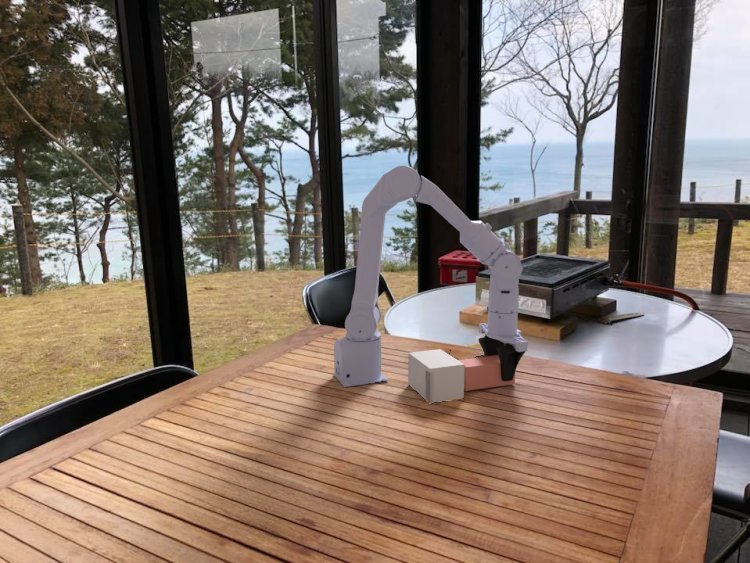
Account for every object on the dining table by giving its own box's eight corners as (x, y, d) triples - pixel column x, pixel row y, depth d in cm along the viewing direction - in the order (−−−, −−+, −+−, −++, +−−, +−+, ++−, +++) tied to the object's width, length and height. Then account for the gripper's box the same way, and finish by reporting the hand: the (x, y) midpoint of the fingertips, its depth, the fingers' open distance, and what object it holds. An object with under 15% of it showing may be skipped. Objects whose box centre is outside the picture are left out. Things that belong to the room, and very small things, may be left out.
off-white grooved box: (429, 404, 101) (430, 368, 100) (408, 385, 110) (408, 352, 109) (463, 399, 103) (464, 364, 102) (439, 381, 113) (440, 349, 111)
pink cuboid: (465, 391, 107) (466, 367, 106) (454, 383, 111) (455, 360, 110) (514, 383, 110) (515, 360, 109) (502, 376, 114) (503, 354, 114)
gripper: (542, 317, 104) (539, 385, 106) (500, 301, 117) (498, 362, 119) (510, 320, 101) (507, 390, 104) (470, 303, 115) (469, 366, 117)
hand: (500, 376), depth 111 cm, fingers closed on pink cuboid, 4 cm apart
